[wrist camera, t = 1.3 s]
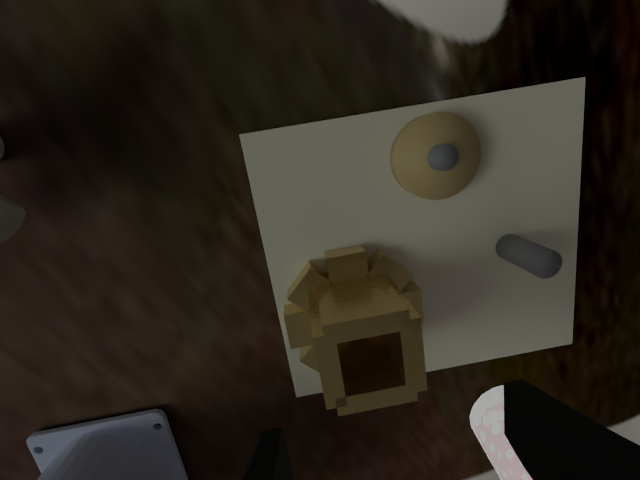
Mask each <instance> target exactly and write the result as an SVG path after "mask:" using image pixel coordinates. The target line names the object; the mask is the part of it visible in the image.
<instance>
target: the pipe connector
mask: <svg viewBox="0 0 640 480" xmlns="http://www.w3.org/2000/svg"><path fill="white" fill-rule="evenodd" d="M3 154H4V143H3V140H2V138H1V137H0V159H1V158H2V157H3ZM25 215H26V212H25V210H24V208H23V207H21V206H19V205H18V204H16V203H14V202H12V201H11V200H9V199H7V198H5V197H4V196H2V195H0V243H2V242H4V241H6V240H7V239H8V238H9V237H10V236H12V235H13V234H14V233H15V232H16V231H17V230H18V228H19V227H20V226H21V224H22V223H23V221H24V218H25Z"/></svg>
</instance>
